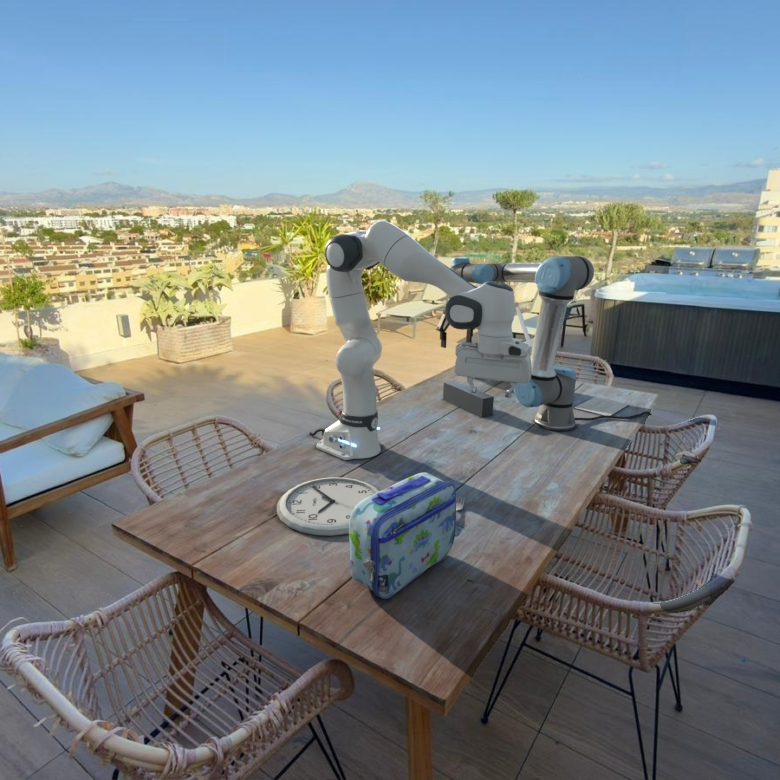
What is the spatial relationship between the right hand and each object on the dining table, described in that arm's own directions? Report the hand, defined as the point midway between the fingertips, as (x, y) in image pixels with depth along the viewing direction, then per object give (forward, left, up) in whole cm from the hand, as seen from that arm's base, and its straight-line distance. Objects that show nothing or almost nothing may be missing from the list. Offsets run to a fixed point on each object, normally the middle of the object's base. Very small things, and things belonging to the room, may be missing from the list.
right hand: (456, 345), depth 224 cm
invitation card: (-64, -2, -25) cm, 68 cm away
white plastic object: (-25, -31, -25) cm, 47 cm away
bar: (-6, +7, -25) cm, 27 cm away
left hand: (-9, +84, +5) cm, 84 cm away
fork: (-1, +98, -25) cm, 101 cm away
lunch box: (+10, +123, -25) cm, 126 cm away
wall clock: (+32, +97, -25) cm, 105 cm away
